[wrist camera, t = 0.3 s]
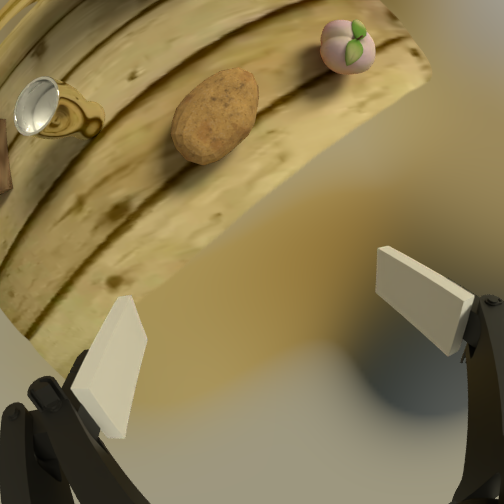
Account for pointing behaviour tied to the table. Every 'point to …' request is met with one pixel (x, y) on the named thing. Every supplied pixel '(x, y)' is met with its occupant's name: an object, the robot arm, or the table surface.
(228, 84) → the potato
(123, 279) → the table surface
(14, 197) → the table surface
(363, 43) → the decorative fruit
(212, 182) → the table surface
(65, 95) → the metal tumbler
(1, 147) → the base
